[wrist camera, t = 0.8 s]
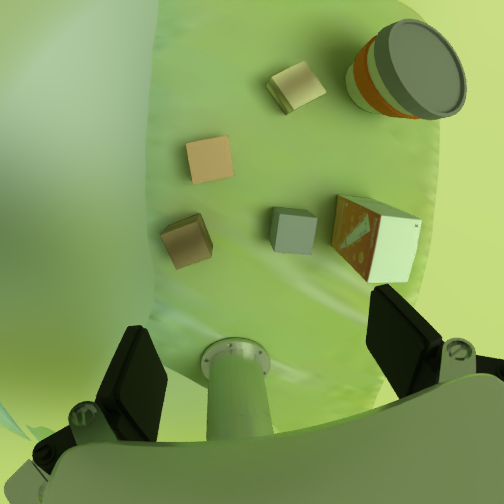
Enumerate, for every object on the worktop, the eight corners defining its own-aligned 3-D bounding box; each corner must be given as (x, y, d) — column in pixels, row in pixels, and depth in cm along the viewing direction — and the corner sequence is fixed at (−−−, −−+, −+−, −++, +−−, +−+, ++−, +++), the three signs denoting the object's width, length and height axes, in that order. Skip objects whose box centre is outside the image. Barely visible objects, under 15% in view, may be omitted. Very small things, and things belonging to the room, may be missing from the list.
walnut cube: (213, 244, 39) (211, 257, 35) (181, 256, 40) (176, 269, 35) (200, 213, 38) (196, 221, 33) (168, 225, 38) (160, 235, 33)
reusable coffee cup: (325, 49, 30) (371, 8, 16) (393, 53, 30) (451, 29, 16) (343, 127, 35) (402, 118, 21) (409, 124, 35) (475, 122, 21)
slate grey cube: (301, 243, 40) (311, 254, 36) (268, 240, 40) (274, 252, 35) (307, 210, 39) (317, 218, 34) (273, 206, 38) (279, 213, 33)
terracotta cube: (233, 173, 36) (234, 176, 31) (197, 180, 36) (192, 183, 31) (227, 138, 34) (227, 135, 30) (191, 144, 34) (185, 143, 30)
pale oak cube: (314, 99, 33) (326, 92, 28) (285, 115, 34) (294, 109, 29) (295, 71, 31) (304, 60, 27) (265, 86, 32) (271, 77, 27)
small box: (336, 194, 38) (381, 213, 26) (372, 198, 39) (424, 218, 27) (329, 246, 41) (366, 284, 29) (364, 247, 41) (408, 283, 29)
